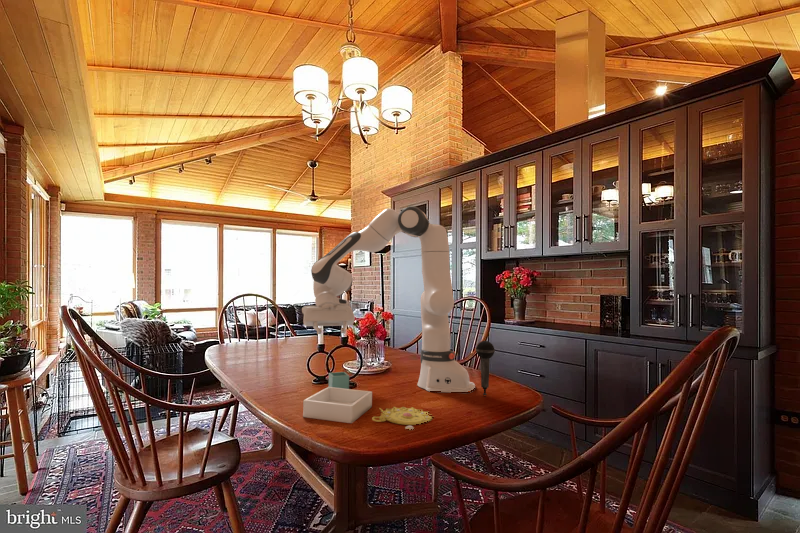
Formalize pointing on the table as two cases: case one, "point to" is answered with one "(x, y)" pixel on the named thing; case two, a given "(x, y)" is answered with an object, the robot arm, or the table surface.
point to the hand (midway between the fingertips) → (331, 332)
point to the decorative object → (404, 416)
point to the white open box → (337, 404)
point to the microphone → (485, 362)
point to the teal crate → (339, 380)
